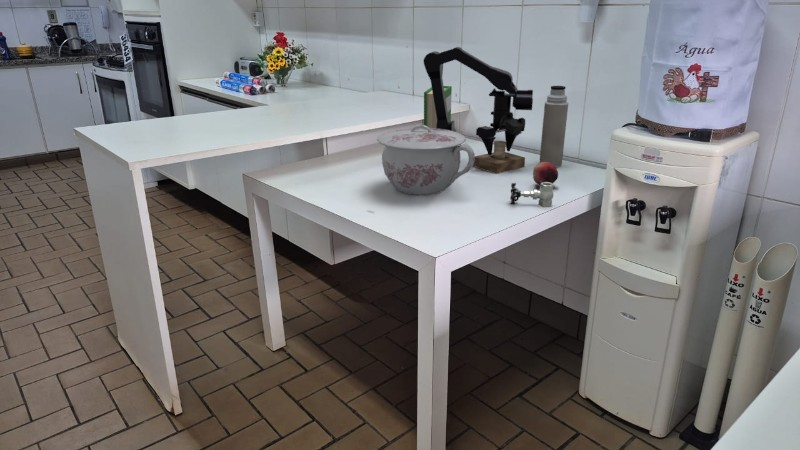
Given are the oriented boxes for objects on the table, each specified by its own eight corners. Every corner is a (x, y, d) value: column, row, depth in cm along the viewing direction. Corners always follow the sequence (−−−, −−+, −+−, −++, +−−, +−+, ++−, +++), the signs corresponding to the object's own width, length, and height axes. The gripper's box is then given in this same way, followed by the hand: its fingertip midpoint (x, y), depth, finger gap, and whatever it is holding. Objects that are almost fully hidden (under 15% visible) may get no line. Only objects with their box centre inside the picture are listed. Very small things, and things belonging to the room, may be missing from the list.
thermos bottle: (537, 161, 205) (544, 84, 194) (559, 161, 204) (567, 84, 193) (540, 167, 197) (548, 87, 187) (563, 167, 196) (572, 87, 186)
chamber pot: (367, 181, 183) (365, 119, 175) (442, 172, 192) (443, 113, 184) (396, 209, 159) (395, 138, 151) (480, 197, 168) (483, 130, 160)
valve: (550, 201, 164) (509, 200, 165) (552, 180, 161) (511, 179, 163) (553, 209, 158) (511, 208, 159) (556, 187, 155) (513, 186, 157)
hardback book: (442, 155, 213) (443, 92, 204) (423, 154, 215) (424, 92, 206) (450, 144, 229) (451, 86, 220) (432, 143, 231) (433, 85, 222)
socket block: (496, 173, 190) (497, 163, 189) (472, 166, 199) (473, 156, 198) (524, 166, 198) (525, 157, 196) (500, 159, 207) (500, 150, 205)
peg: (498, 168, 196) (500, 144, 192) (490, 166, 199) (491, 141, 196) (506, 166, 198) (508, 142, 195) (498, 164, 201) (499, 140, 198)
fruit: (547, 182, 181) (549, 158, 178) (561, 188, 175) (564, 164, 172) (527, 184, 179) (529, 160, 176) (541, 191, 172) (543, 167, 169)
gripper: (499, 116, 180) (496, 162, 186) (538, 109, 190) (534, 153, 196) (476, 111, 188) (474, 155, 194) (514, 105, 198) (511, 147, 204)
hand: (499, 153), depth 197 cm, fingers open, 9 cm apart
